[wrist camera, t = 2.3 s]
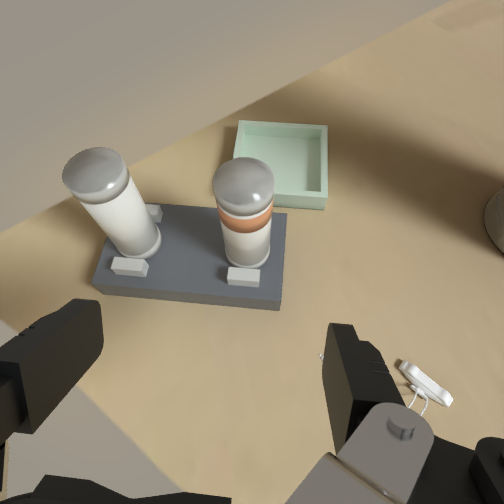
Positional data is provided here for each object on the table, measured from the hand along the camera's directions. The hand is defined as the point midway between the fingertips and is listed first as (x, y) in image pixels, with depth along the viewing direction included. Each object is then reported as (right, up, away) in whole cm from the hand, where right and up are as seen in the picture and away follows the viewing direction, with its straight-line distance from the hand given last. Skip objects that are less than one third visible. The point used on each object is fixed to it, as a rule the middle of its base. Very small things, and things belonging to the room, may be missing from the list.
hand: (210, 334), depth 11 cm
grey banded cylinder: (+1, +3, +16) cm, 16 cm away
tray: (+4, +11, +23) cm, 26 cm away
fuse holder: (-3, +2, +18) cm, 19 cm away
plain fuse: (-8, +4, +16) cm, 18 cm away
